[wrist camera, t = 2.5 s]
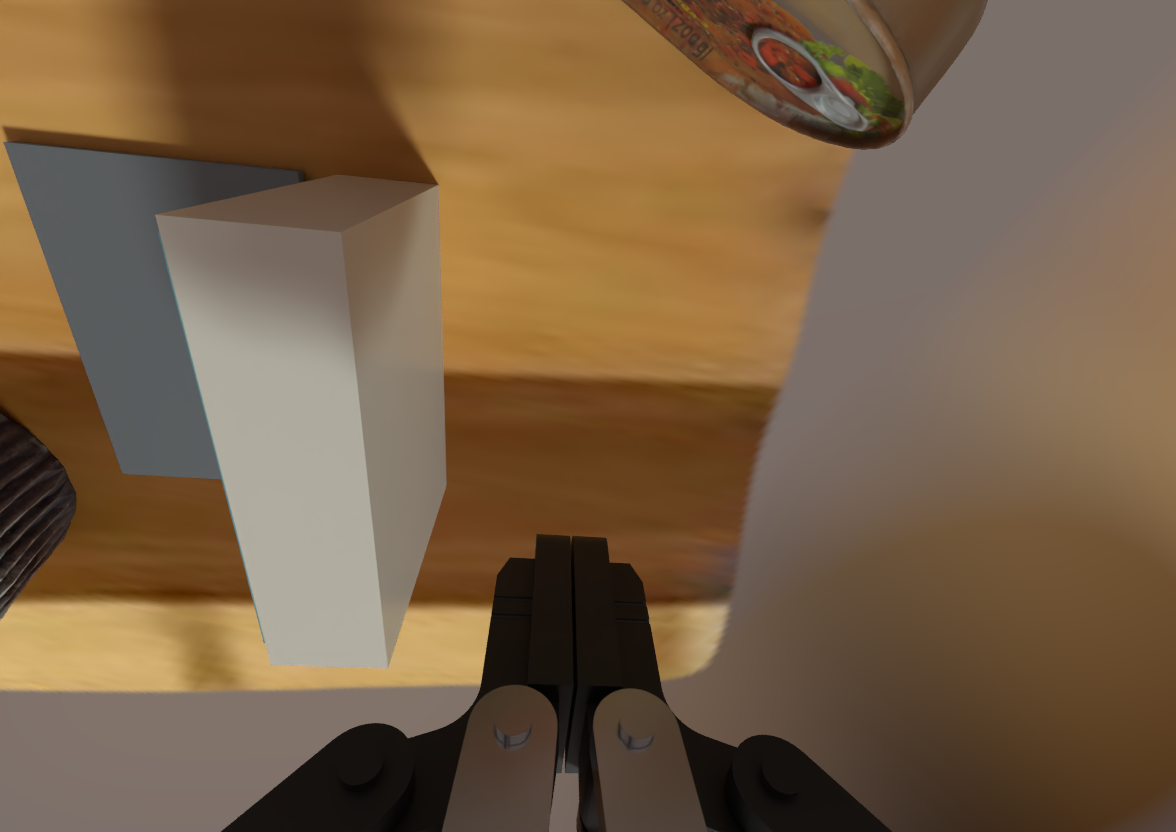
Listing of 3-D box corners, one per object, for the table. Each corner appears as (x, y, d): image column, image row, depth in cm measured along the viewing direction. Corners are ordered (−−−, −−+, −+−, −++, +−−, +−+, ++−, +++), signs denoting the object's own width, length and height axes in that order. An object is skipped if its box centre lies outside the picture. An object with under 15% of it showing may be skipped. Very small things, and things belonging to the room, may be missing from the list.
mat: (15, 141, 17) (3, 142, 16) (303, 171, 17) (297, 172, 17) (129, 468, 22) (122, 473, 22) (343, 480, 23) (340, 485, 23)
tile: (328, 173, 18) (136, 213, 10) (439, 184, 18) (341, 232, 10) (363, 479, 23) (259, 664, 15) (446, 484, 23) (388, 668, 16)
